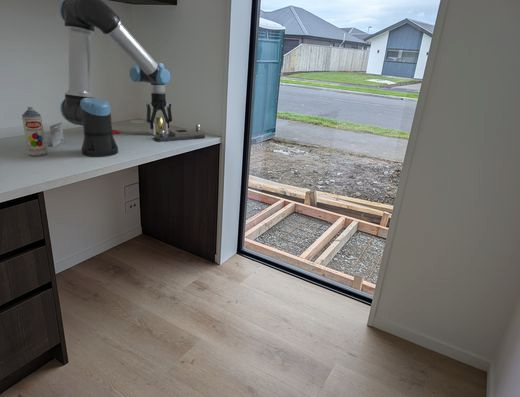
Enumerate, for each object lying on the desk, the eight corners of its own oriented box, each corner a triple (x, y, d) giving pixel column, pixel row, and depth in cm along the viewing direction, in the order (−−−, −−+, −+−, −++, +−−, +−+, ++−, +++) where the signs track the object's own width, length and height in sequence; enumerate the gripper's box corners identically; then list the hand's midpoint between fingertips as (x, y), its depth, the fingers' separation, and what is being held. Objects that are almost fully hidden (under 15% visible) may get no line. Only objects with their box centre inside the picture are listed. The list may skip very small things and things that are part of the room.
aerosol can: (29, 157, 151) (20, 108, 144) (28, 153, 156) (19, 106, 149) (48, 155, 155) (40, 108, 147) (46, 151, 160) (38, 105, 152)
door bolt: (160, 141, 190) (159, 128, 187) (154, 138, 197) (153, 125, 194) (204, 138, 204) (204, 125, 201) (197, 135, 211) (197, 123, 208)
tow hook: (109, 131, 209) (100, 133, 200) (107, 108, 204) (98, 109, 196) (123, 132, 208) (114, 135, 199) (121, 109, 203) (113, 111, 195)
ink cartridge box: (47, 146, 168) (44, 125, 164) (59, 141, 178) (56, 121, 175) (53, 147, 168) (50, 126, 164) (64, 142, 178) (61, 122, 175)
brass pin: (157, 135, 203) (157, 117, 199) (155, 134, 206) (154, 116, 202) (164, 135, 205) (164, 117, 202) (162, 134, 208) (161, 116, 205)
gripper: (172, 91, 205) (174, 132, 214) (138, 92, 195) (141, 134, 203) (177, 93, 200) (178, 134, 208) (142, 93, 189) (145, 137, 197)
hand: (160, 134), depth 206 cm, fingers open, 7 cm apart
